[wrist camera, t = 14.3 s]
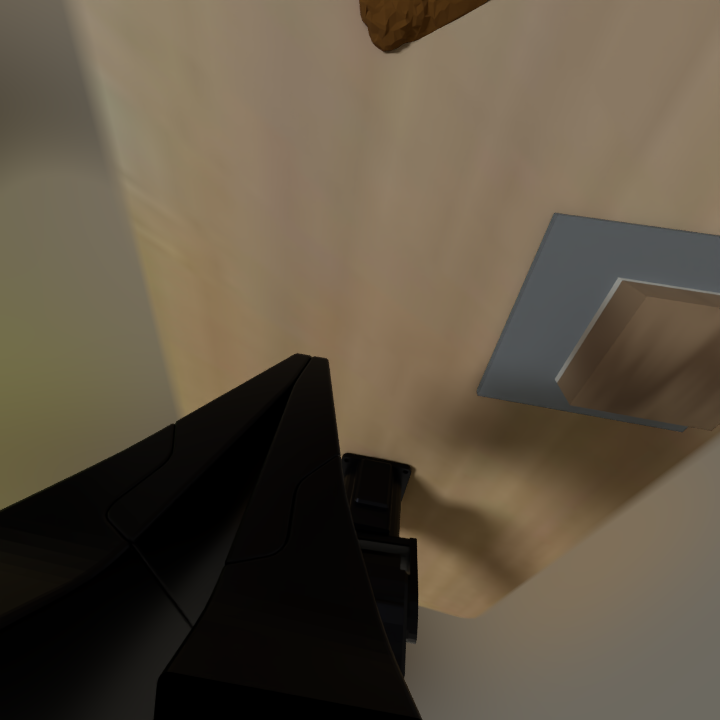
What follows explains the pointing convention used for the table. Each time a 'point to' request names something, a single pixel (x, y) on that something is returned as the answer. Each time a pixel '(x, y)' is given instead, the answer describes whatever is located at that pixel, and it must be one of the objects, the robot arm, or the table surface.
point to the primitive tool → (409, 18)
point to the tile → (650, 356)
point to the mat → (586, 300)
